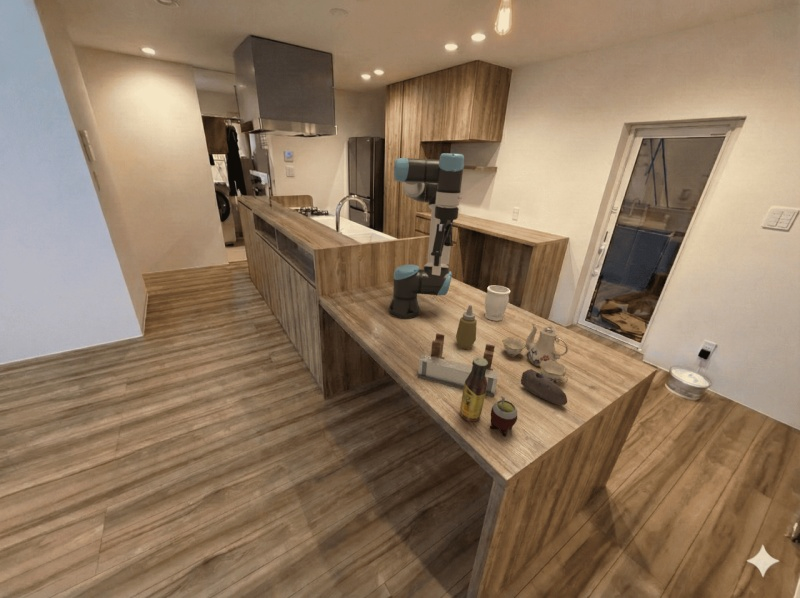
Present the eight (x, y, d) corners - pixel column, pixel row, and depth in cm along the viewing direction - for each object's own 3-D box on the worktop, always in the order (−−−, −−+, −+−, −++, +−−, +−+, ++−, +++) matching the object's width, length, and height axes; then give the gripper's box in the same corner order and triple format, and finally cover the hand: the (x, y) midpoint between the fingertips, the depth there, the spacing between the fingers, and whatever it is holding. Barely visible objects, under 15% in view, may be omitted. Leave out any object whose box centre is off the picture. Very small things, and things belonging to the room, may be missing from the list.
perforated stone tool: (568, 406, 102) (574, 388, 99) (560, 413, 99) (566, 395, 96) (526, 381, 112) (530, 365, 109) (517, 387, 109) (521, 370, 106)
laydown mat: (417, 377, 111) (417, 375, 111) (421, 368, 116) (421, 366, 116) (493, 397, 104) (494, 395, 104) (495, 386, 109) (495, 385, 108)
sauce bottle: (457, 407, 99) (465, 353, 91) (476, 407, 99) (486, 353, 91) (462, 424, 93) (472, 367, 85) (483, 423, 93) (495, 366, 85)
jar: (502, 313, 161) (508, 285, 155) (506, 323, 152) (512, 294, 146) (481, 311, 162) (485, 284, 156) (484, 321, 153) (489, 292, 147)
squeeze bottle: (475, 342, 134) (482, 303, 127) (473, 352, 127) (479, 312, 120) (456, 338, 137) (461, 300, 129) (453, 348, 130) (458, 308, 122)
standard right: (476, 378, 112) (481, 352, 108) (479, 367, 118) (483, 342, 114) (491, 382, 111) (496, 356, 106) (492, 371, 117) (497, 345, 112)
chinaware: (492, 355, 129) (496, 320, 122) (518, 340, 138) (523, 306, 130) (558, 395, 109) (567, 355, 101) (583, 375, 117) (594, 337, 109)
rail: (418, 374, 112) (419, 360, 109) (421, 368, 115) (422, 354, 113) (494, 394, 104) (497, 379, 102) (495, 386, 108) (498, 372, 105)
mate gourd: (508, 418, 95) (518, 377, 89) (518, 440, 88) (529, 397, 82) (483, 418, 95) (492, 377, 89) (491, 440, 88) (501, 397, 82)
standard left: (426, 366, 117) (429, 341, 113) (431, 356, 123) (434, 332, 119) (440, 369, 116) (443, 344, 112) (444, 359, 122) (447, 335, 118)
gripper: (450, 212, 91) (443, 282, 100) (465, 202, 113) (457, 260, 121) (425, 209, 93) (420, 278, 102) (444, 201, 115) (438, 258, 124)
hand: (440, 268), depth 112 cm, fingers open, 13 cm apart
